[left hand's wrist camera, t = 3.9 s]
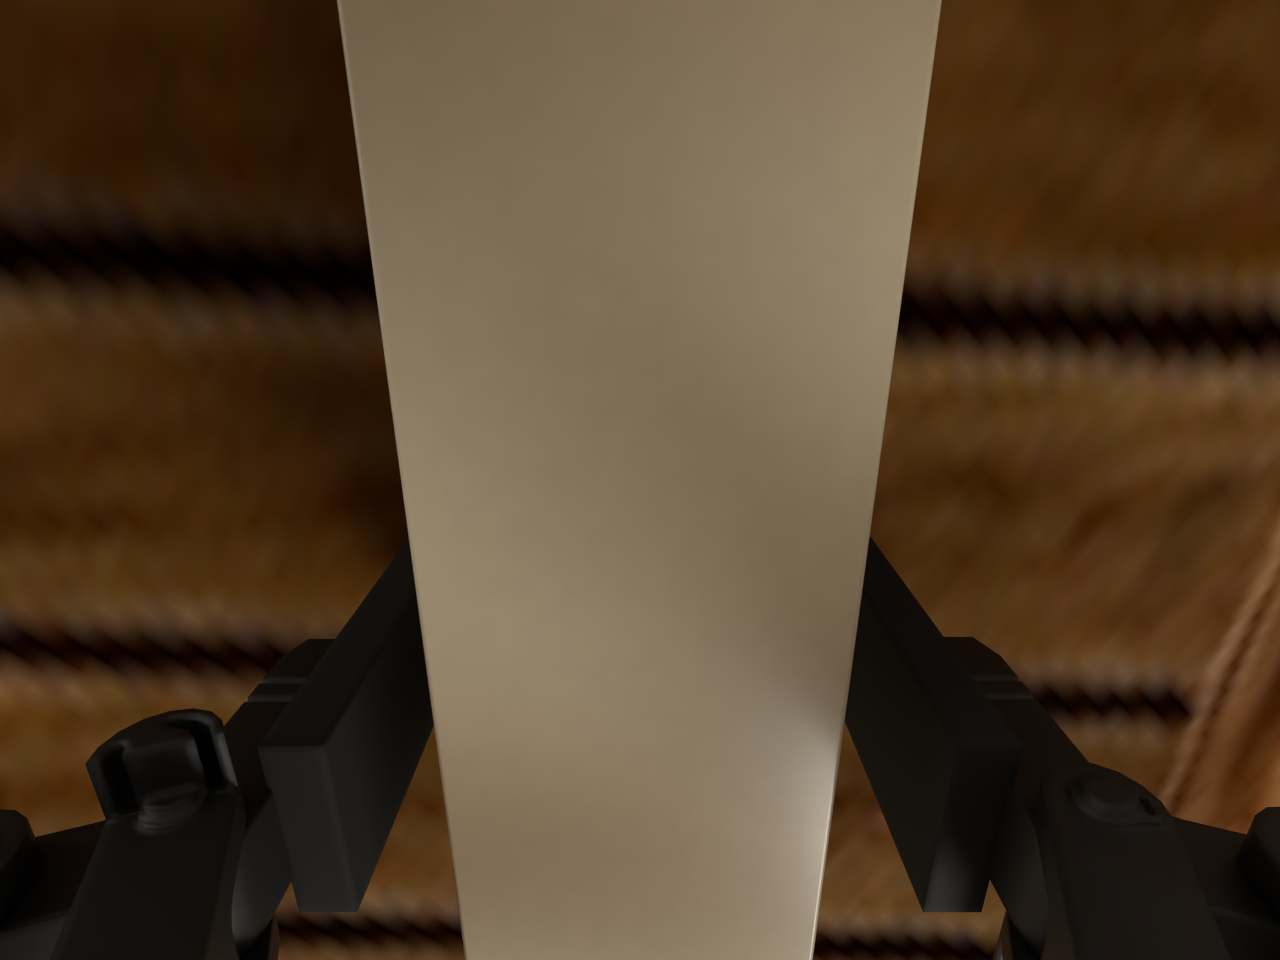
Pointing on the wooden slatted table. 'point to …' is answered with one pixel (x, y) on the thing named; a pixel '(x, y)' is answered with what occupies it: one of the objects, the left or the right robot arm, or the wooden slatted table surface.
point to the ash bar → (639, 436)
